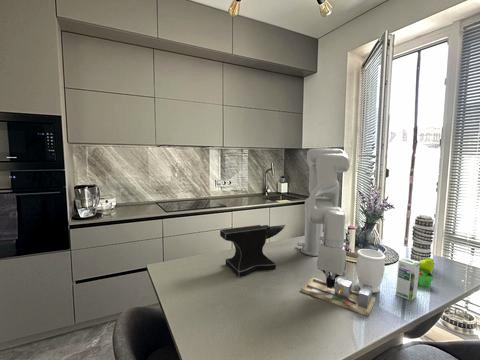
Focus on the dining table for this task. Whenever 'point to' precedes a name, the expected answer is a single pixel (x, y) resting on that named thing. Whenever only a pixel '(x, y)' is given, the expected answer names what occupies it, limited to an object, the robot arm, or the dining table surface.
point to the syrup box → (407, 278)
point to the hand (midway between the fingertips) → (330, 286)
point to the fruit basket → (425, 272)
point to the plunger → (343, 288)
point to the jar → (370, 268)
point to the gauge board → (336, 299)
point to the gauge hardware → (364, 294)
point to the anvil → (250, 248)
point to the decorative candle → (422, 238)
